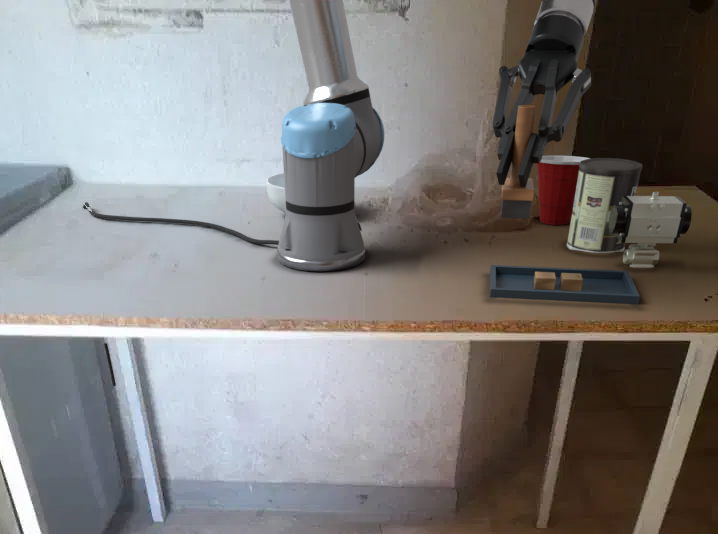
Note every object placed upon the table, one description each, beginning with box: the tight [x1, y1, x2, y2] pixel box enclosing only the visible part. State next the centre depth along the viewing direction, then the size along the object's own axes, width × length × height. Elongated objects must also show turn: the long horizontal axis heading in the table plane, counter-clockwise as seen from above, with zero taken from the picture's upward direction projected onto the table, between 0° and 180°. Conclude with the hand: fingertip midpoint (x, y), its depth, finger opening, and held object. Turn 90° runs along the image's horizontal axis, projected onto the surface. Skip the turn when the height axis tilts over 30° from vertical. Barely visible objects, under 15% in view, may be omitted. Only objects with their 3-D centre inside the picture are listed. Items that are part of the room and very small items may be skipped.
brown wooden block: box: [534, 272, 556, 290], centre depth 113 cm, size 3×3×2 cm
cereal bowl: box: [266, 172, 286, 214], centre depth 150 cm, size 17×17×7 cm
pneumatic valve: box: [609, 191, 693, 269], centre depth 119 cm, size 6×12×12 cm, turn 86°
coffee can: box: [566, 157, 644, 254], centre depth 128 cm, size 10×10×14 cm
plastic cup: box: [536, 155, 592, 226], centre depth 143 cm, size 11×11×12 cm
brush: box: [500, 104, 537, 220], centre depth 104 cm, size 4×7×14 cm, turn 170°
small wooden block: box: [560, 273, 583, 291], centre depth 113 cm, size 3×3×2 cm
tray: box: [489, 264, 641, 305], centre depth 114 cm, size 22×12×2 cm, turn 81°
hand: (511, 179), depth 103 cm, fingers closed on brush, 2 cm apart
